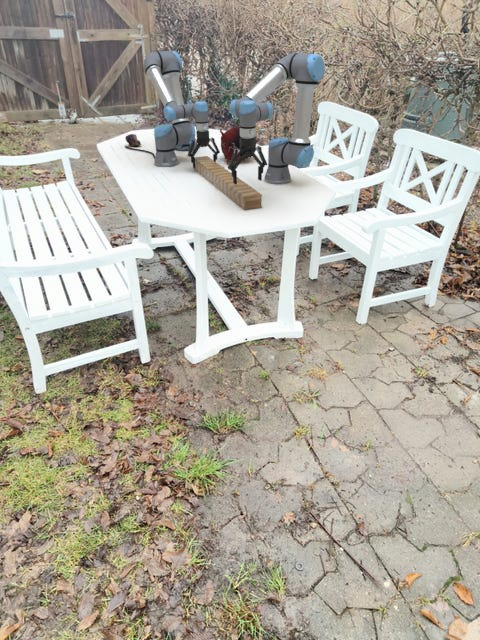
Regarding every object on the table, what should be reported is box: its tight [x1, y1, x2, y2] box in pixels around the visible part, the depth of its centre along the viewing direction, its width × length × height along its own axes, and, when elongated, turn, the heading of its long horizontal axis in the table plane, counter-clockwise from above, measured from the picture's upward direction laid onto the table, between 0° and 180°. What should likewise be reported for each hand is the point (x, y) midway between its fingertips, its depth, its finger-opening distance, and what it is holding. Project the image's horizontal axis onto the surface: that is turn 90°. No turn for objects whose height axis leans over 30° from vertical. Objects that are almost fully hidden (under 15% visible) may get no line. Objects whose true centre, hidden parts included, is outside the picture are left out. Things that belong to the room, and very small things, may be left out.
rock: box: [125, 133, 142, 147], centre depth 332 cm, size 12×9×10 cm
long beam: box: [194, 155, 263, 211], centre depth 254 cm, size 80×9×7 cm, turn 23°
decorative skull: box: [219, 126, 258, 165], centre depth 296 cm, size 21×24×25 cm
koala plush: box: [174, 137, 198, 152], centre depth 321 cm, size 17×18×20 cm
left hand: (204, 166), depth 279 cm, fingers open, 13 cm apart
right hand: (247, 181), depth 225 cm, fingers open, 13 cm apart
